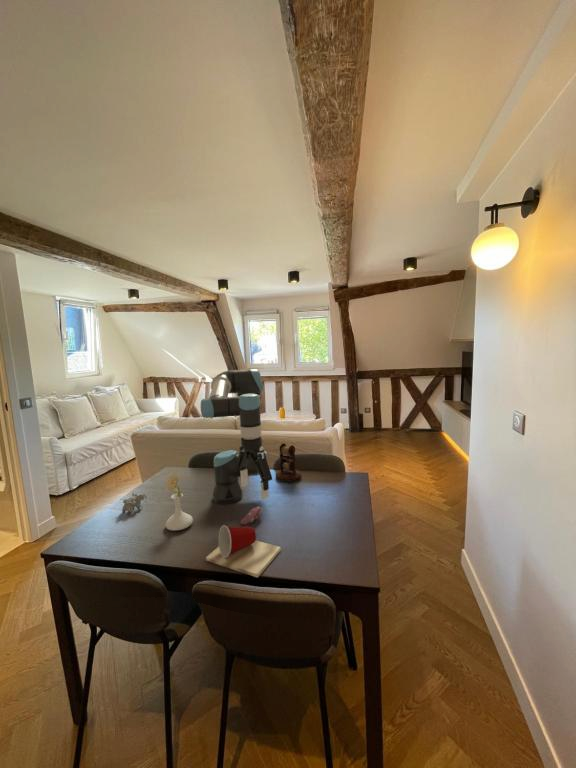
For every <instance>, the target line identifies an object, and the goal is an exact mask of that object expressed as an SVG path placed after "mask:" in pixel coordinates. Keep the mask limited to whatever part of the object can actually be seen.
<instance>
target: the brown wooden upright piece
mask: <svg viewBox="0 0 576 768" xmlns="http://www.w3.org/2000/svg"><path fill="white" fill-rule="evenodd" d="M279 458H280V461H279V463H280V464H279V466H280V470H278V471H277V472H276V473H275V478H276V480H278V481H279V480H280V481H281V482H282V481H284V482H288V483H289V484H290V483H291V482H292V481H296V480H298V479H300V478H301V477H302V472H301V471H300V470H298V469H297V464H296V460H297V458H296V447H295V445H293V444H292V445H290V446H287V445H286V443H284V442H283V443H281V445H280V446H279Z"/></svg>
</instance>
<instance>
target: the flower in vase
mask: <svg viewBox="0 0 576 768" xmlns="http://www.w3.org/2000/svg"><path fill="white" fill-rule="evenodd" d="M179 478H180V477H179V475H178V473H177V472H175V473H174V472H172V473H171V474H170V476H168V479H167V482H166V491H167V492H168V493H170V492H173V494H172V495H171V496H170V498H171V499H172V500H173V503H174V509H175V510H174V511H175V512H174V513H173V514H172V515H171V516H170V517H169V518H168V519H167V520H166V522H165V528H166V529H167V530H169V531H175V532H176V531H181V530H184V529H187V528H189V527H190V526H191V525H192V523H193V522H194V518H193V516H192V515H190V514H188V513H186V512H185V511H182V505H181V504H182V499H183V496H184V494H183V493H182V492H181V491H182V490H180V488H179V486H178V485H179Z"/></svg>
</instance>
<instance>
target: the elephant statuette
mask: <svg viewBox="0 0 576 768" xmlns="http://www.w3.org/2000/svg"><path fill="white" fill-rule="evenodd" d="M144 499H147V496H146V494H145V493H141V494H139V493H135V492H132V495H131V496H130V497H128V499H126V498H125V499H124V500H123V501H122V503H123V506H122V510H121V512H122V513H123V514H124V513H126V512H129V513H130V515H131V516H134V515H135V514H136V513H135V511H134V509H135V508H136V509H137V511H138V512H141V511H142V510H143V509H142V505H141V502H142V501H144Z"/></svg>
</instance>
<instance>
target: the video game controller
mask: <svg viewBox="0 0 576 768" xmlns="http://www.w3.org/2000/svg"><path fill="white" fill-rule="evenodd" d="M262 511H263V508H262V507H260V506H257V507H253V508H252V509H251V510H249V512H248V513H247V514H246V516H244V517H243V518H242V519H241V520H240V523H241V524H242V525H247V524H248V523H249V524H252V523H253V522H254V520H257V519H258V517H259V516H260V515H261V514H262V513H263V512H262Z"/></svg>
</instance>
